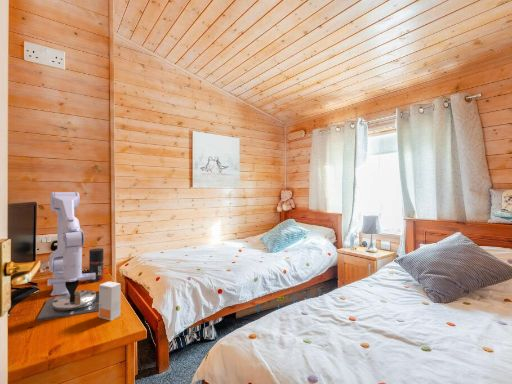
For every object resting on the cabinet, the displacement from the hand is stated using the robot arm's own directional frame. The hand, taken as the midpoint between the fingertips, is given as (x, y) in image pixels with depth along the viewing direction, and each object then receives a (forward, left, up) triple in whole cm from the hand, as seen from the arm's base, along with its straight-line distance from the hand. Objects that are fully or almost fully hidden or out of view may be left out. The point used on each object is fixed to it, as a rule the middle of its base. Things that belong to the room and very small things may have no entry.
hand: (72, 301), depth 99 cm
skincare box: (+9, +12, -4) cm, 16 cm away
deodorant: (-35, +6, -4) cm, 35 cm away
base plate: (-7, 0, -4) cm, 8 cm away
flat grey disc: (-6, 0, -3) cm, 7 cm away
